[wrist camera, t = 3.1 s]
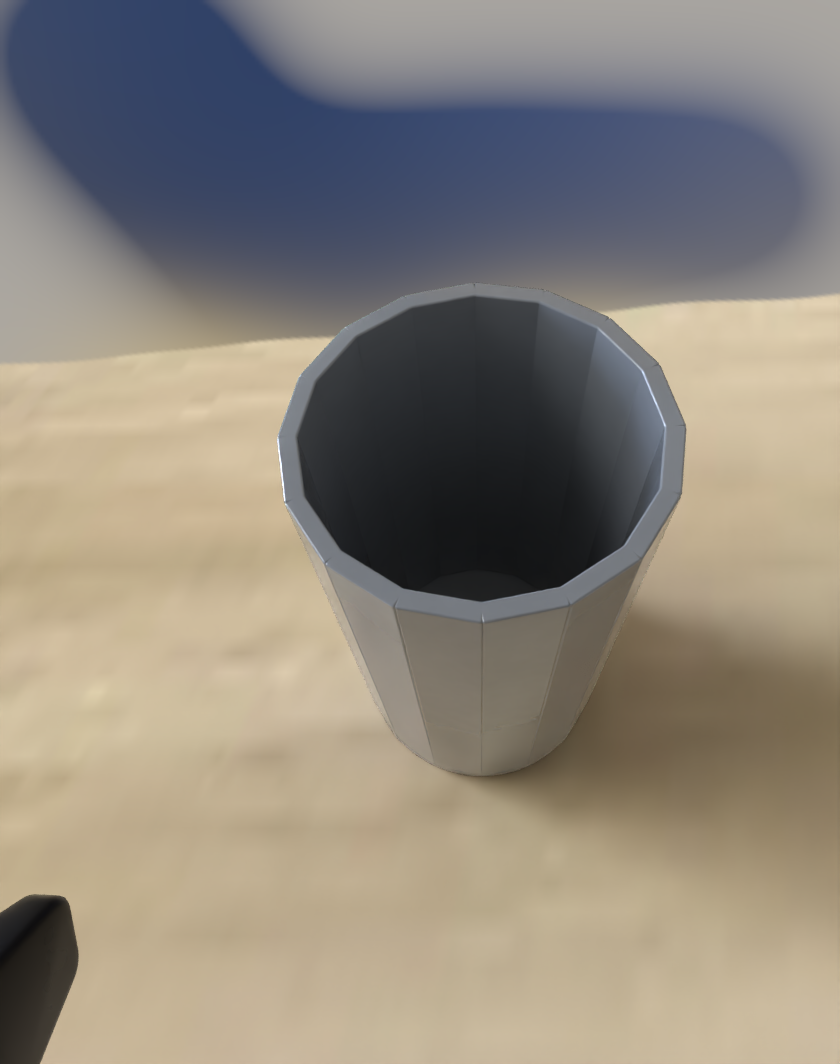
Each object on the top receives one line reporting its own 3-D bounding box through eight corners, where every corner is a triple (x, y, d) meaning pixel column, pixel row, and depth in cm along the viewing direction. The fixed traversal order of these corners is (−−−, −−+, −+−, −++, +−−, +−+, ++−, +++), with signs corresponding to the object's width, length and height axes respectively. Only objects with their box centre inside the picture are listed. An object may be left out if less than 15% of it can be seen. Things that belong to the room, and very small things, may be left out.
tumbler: (627, 636, 24) (753, 377, 13) (515, 824, 22) (552, 707, 11) (449, 533, 26) (426, 237, 15) (329, 695, 24) (197, 484, 13)
